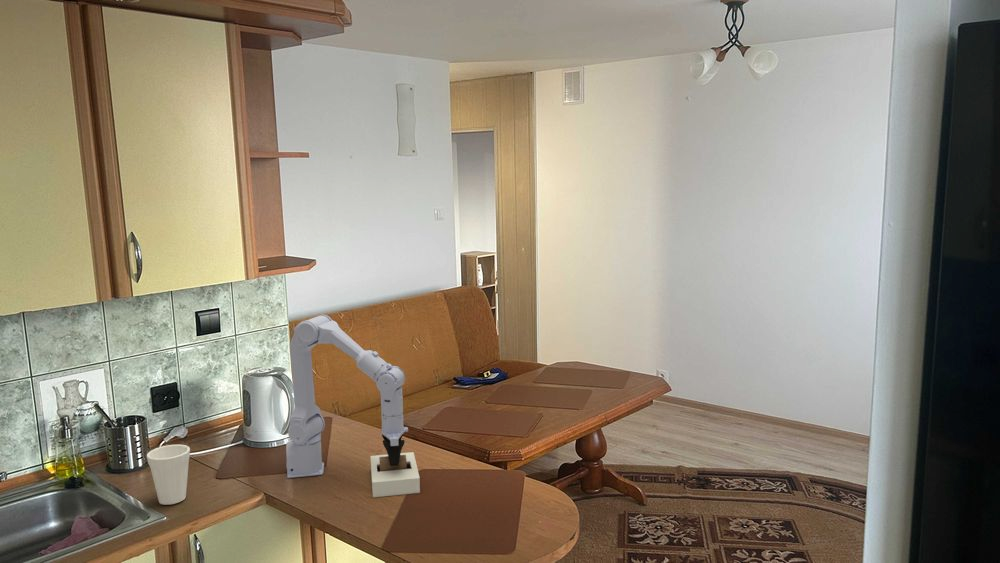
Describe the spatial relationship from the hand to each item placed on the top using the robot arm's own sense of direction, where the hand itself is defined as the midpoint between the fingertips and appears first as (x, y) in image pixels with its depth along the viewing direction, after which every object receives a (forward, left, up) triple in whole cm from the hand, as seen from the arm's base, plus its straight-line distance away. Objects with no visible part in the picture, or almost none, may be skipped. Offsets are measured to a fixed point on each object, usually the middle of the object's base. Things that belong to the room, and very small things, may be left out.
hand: (393, 462), depth 188 cm
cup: (-56, +1, -5) cm, 56 cm away
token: (0, 0, -5) cm, 5 cm away
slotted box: (0, 0, -5) cm, 5 cm away
